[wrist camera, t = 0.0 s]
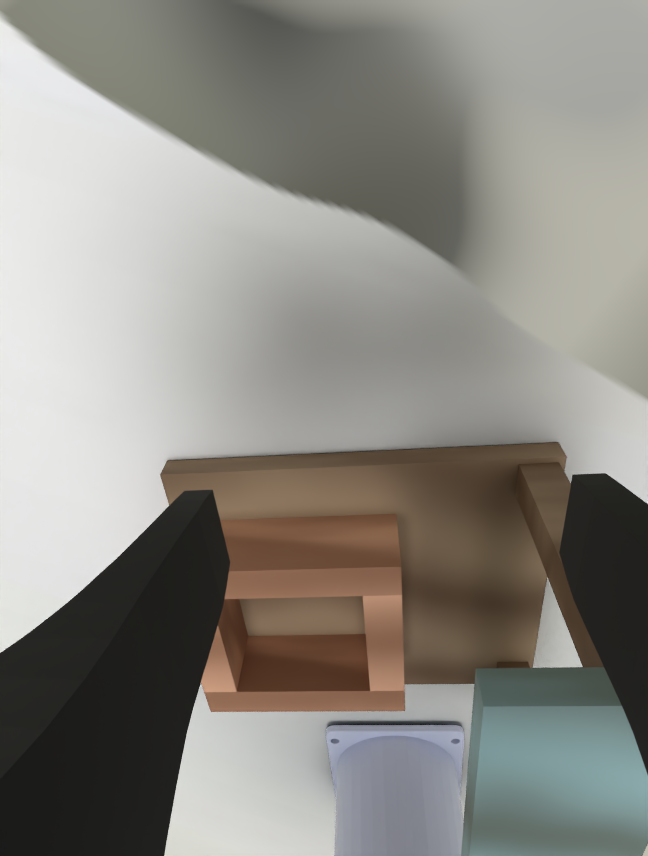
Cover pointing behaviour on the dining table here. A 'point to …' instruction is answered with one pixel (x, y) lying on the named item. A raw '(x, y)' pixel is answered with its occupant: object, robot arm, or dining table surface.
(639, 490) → the dining table surface
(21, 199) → the dining table surface
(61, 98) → the dining table surface
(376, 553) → the socket station
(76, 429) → the dining table surface
